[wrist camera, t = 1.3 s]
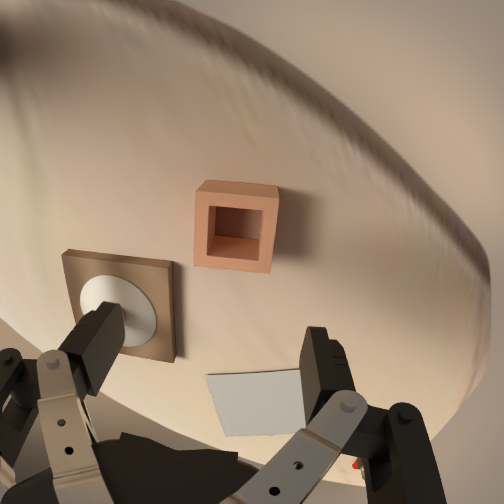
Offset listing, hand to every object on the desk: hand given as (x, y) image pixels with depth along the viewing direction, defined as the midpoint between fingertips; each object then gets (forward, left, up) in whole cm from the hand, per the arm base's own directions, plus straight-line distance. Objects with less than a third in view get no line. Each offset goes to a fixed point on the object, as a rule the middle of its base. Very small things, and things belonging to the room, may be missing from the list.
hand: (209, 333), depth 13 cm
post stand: (-12, -11, -16) cm, 23 cm away
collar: (0, 0, -16) cm, 16 cm away
